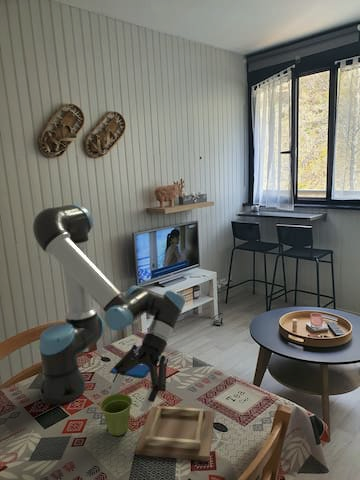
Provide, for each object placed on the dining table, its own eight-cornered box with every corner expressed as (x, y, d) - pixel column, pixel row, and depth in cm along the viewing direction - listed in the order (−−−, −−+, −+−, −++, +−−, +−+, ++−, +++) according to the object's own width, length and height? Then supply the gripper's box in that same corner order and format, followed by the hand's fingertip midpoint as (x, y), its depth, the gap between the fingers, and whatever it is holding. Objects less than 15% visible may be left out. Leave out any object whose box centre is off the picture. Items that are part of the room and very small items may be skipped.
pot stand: (135, 454, 96) (134, 443, 96) (151, 411, 114) (151, 401, 113) (209, 461, 93) (208, 449, 92) (214, 415, 110) (214, 405, 110)
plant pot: (106, 444, 100) (103, 417, 99) (99, 424, 109) (97, 398, 107) (138, 434, 104) (136, 407, 102) (129, 414, 113) (127, 390, 111)
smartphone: (118, 361, 144) (152, 366, 139) (118, 364, 145) (152, 368, 139) (109, 371, 138) (144, 376, 132) (109, 373, 138) (144, 378, 133)
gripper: (193, 351, 109) (164, 422, 101) (136, 332, 125) (107, 392, 116) (181, 342, 104) (150, 416, 96) (124, 323, 120) (92, 385, 111)
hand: (126, 403), depth 106 cm, fingers open, 13 cm apart
